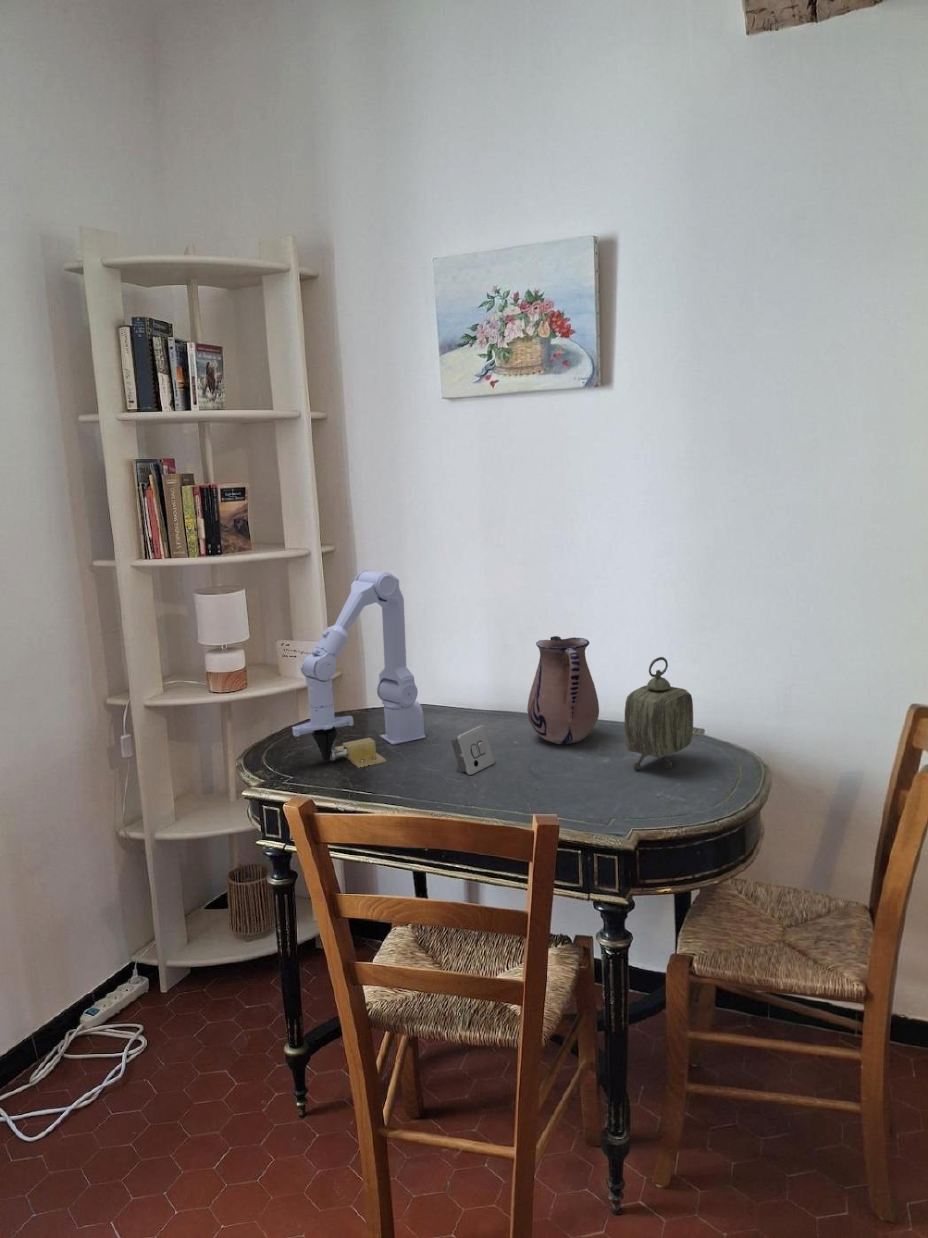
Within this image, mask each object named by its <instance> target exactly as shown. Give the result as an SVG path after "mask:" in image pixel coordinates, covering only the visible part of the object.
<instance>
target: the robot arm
mask: <svg viewBox="0 0 928 1238" xmlns="http://www.w3.org/2000/svg"><path fill="white" fill-rule="evenodd" d="M375 603H377V604H378V605H379V606H380V607H381V613H382V618H381V619H382V636H383V637H382V638H383V657H384V663H383V664H384V668H383V669H382V670H381V671H380V672H379V675H378V676H379V677H378V678H379V679H378V684H377V686H376V694H377V697H378V698H379V700H381V701H382V705H383V711H384V727H385V734H380V738H381V739H383V740H385V741H386V742H387V743H389V744H391V745H397V744H403V743H407V742H412V741H416V740H421V739H425V738H426V734H425V724H424V723H425V722H424V712H423V708H422V705H421V704H420V702H418V701H416V700H417V698H418V691H419V690H418V686H417V685H416V683H415V676H414V674H413V673H412V672H411V671H410V670H409V668H408V667H407V650H406V648H407V646H406V623H405V622H406V621H405V599H404V595H403V593H402V591H401V588H400V579H399V578H397V577H396V576H394V574H392V573H390V572H379V571H372V570H371V571H370V570H367V569H364V570H361V571H359V573H358V574H357V575H356V576H355V579H354V580H353V582H352V583H351V586H350V593H349V595H348V598H347V600H346V601H345V603H344V605H343V607H342V609H341V611H340V614H339V615H338V617H337V619H336V621H335V623H334V625H331V626H328V627H327V628H326V629H323V630H322V633H321V637H320V639H319V641H318V642H317V644H316V646H315V647H314V648H313V650H312V653H310V654H309V655H307V656H305V658H304V660H303V662H302V666H301V667H300V672H301V674H302V676H304V677H305V681H306V685H307V694H308V695H307V696H308V706H309V717H310V719H309V720H310V721H308V722H305V723H302V724H299V725H298V724H297V725H296V726H292V735H293V736H294V737H295V738H296V737H300V736H302V735H307V734H311V736H312V738H314V740H315V742H316V745H317V747H318V749H319V752H320V755H321V759H323V761H329V760H330V755H331V750H333V749H332V748H333V744H334V742H335V740H336V737H337V735H338V731H337V730H336V728H340V727H346V726H354V717H353V716H352V715H345V716H335V706H334V704H335V703H334V694H333V683H332V678H333V676H334V675H335V674H336V671H337V662H338V658H339V656H340V654H341V653H342V651H343V649H344V648H345V646H346V645H347V643H348V641H349V636H348V632H349V630H350V628H351V627H352V625H353V624H354V623H355V621H356V620H357V618H358V617H359V615H360V613H362V611H363V610H364V608H365V607H366V606H369V605H372V604H375ZM330 761H331V760H330Z"/></svg>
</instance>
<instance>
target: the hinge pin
mask: <svg viewBox="0 0 928 1238" xmlns="http://www.w3.org/2000/svg"><path fill="white" fill-rule="evenodd" d="M346 755H348V751H347V749H343V750H338V751H336V750H335V749H331V755H330V761H331V762H333V761H335V760H336V759H337V758H341V757H344V756H346Z"/></svg>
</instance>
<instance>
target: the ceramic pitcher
mask: <svg viewBox="0 0 928 1238" xmlns="http://www.w3.org/2000/svg"><path fill="white" fill-rule="evenodd" d="M535 643H536V647H537V648H538V650H539V660H538V661H539V662H538V664H537V669H536V672H535V673H534V674H535V676H534V678H533V681H532V685H531V688H530V692H529V694H528V695H529V697H528V701H527V717H528V721H529V723H530V725H531V727H532V729H533V730H534V731H535V733H536V734H537V735H538V736H540V738H541V739H543V740H545V741H547V742H550V743H553V744H557V745H564V744H565V745H566V744H567V745H569V744H570V745H571V744H576V743H579V742H581V741H583V740H584V739H585V738H586V737H587V736H588V735H590V733H591V731H592V729H594V727H595V725H596V723H597V722H598V720H599V716H600V705H599V699H598V694H597V691H596V685H595V683H594V680H593V677H592V675H591V672H590V668H589V665H588V662H587V658H586V649H587V647H588V646H589V645H590V643H591V642H590V641H589V640H588V639H587V638H584V637H569V638H561V637H560V636H559V635H555V636H550V639H540V640H538V641H537V642H535Z"/></svg>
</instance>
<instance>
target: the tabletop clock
mask: <svg viewBox="0 0 928 1238" xmlns="http://www.w3.org/2000/svg"><path fill="white" fill-rule="evenodd" d="M659 661H663V662H664V663H665V667H664V669H662V670H660V669H656V670H655V674H653V673H652V668H653V666H654V664H655V663H656V662H659ZM668 666H669V663H668V659H666V658H665V657H664V656H659V657H656V658H654V659H653V660H652V661H651V662H650V664H649V667H648V673H649V675H650V677H652V678H650V679H649V681H648V682H647V684H646V685H643V686H641V687H639V688H637V689H634V690H633V691H631V692H630V693H629V694H628V695H627V697H626V700H625V706H624V720H623V721H624V722H623V723H624V739H625V745H626V748H627V749H626V750H627V751H628V752H629V751H630V752H633V753H637V754H641V756H640V757H639V760H638V762H634V764H633V766H632V767H633V769H634V770H635V771H639V770H640V769H641V763H642V762H643V760H644V759H645V758H646V757H648V756H650V757H654V758H657V759H662V758H665V762H664V766H665V768H666V769H671V768H672V767H673V763H672V762H671V760H669V756H671V755H672V754H673V755H674V754H676V753H678V752H680V751H682V750H684V749H685V748H687V747H688V746H689V745H690V744H691V743H692V741H693V735H694V702H693V696H692V695H691V693H690V692H689V691H688V690H687V689H685V688H680V687H674V686H671V683H670V682H669V681H668V679H666V678H665V677H663V675H664V674H665V673H666V672H667V670H668Z"/></svg>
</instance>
